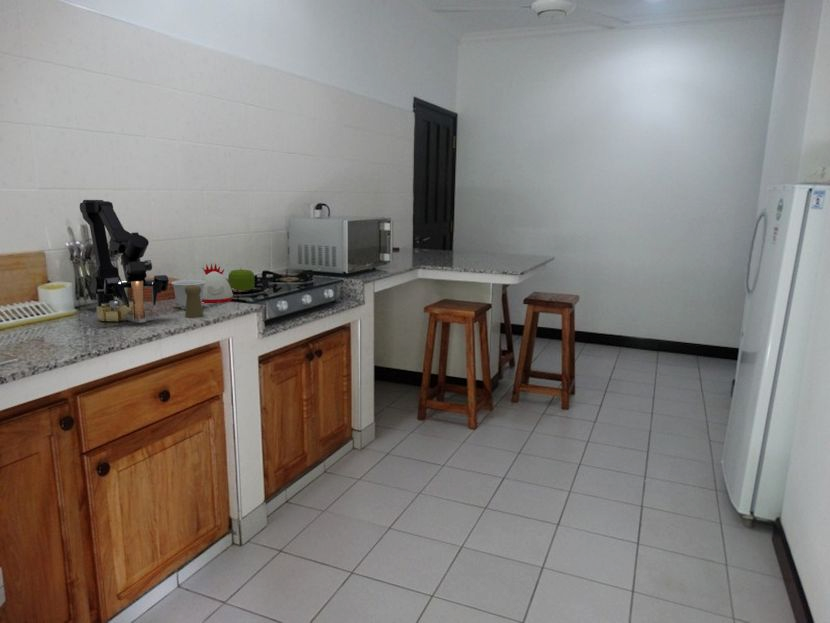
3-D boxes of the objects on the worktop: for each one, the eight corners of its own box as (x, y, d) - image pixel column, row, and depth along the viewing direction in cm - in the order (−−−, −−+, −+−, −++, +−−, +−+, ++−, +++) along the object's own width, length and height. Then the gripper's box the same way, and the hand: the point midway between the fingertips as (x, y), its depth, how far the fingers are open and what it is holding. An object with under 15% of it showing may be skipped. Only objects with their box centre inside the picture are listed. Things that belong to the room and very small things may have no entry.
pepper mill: (205, 314, 204) (204, 283, 202) (200, 318, 198) (198, 286, 196) (188, 314, 204) (186, 283, 202) (182, 317, 198) (180, 286, 196)
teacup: (182, 314, 204) (180, 286, 202) (167, 307, 215) (166, 281, 213) (215, 310, 212) (214, 283, 210) (199, 304, 223) (198, 278, 221)
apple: (240, 295, 243) (239, 270, 241) (223, 293, 249) (222, 268, 247) (260, 292, 253) (259, 267, 250) (243, 289, 258) (242, 265, 256)
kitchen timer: (196, 298, 235) (194, 262, 232) (231, 296, 240) (229, 261, 238) (197, 304, 223) (195, 266, 220) (234, 302, 228) (233, 265, 225)
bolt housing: (78, 319, 192) (77, 300, 191) (134, 312, 205) (133, 294, 203) (97, 328, 180) (95, 308, 178) (155, 320, 192) (154, 301, 191)
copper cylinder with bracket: (91, 318, 190) (87, 277, 188) (123, 313, 200) (120, 274, 197) (126, 326, 180) (123, 283, 177) (158, 320, 189) (156, 279, 186)
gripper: (102, 252, 179) (110, 292, 173) (165, 250, 190) (176, 288, 183) (100, 274, 187) (108, 313, 180) (161, 271, 198) (171, 308, 191)
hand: (141, 305), depth 184 cm, fingers open, 7 cm apart
